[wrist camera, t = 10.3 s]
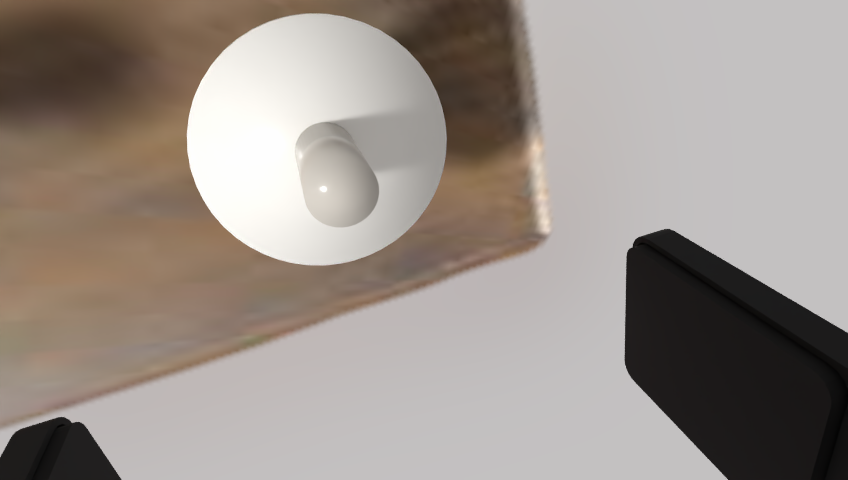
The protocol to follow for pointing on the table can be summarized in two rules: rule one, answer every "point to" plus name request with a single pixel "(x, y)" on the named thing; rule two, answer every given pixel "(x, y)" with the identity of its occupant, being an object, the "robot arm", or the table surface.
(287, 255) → the lid
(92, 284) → the table surface
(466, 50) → the table surface
